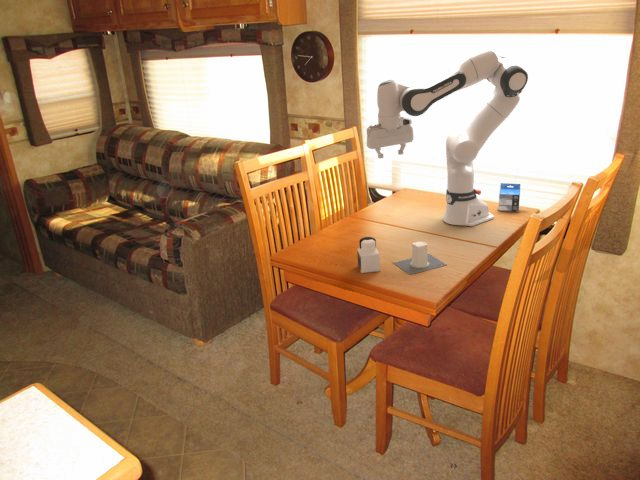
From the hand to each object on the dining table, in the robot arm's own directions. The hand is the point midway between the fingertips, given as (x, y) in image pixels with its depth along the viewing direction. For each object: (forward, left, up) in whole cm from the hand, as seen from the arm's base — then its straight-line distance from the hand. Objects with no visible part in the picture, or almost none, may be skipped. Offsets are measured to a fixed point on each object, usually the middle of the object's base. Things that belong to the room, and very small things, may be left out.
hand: (390, 156), depth 217 cm
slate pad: (+8, +34, -34) cm, 48 cm away
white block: (+8, +34, -34) cm, 48 cm away
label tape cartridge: (-58, +5, -34) cm, 68 cm away
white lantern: (+26, +27, -34) cm, 51 cm away
